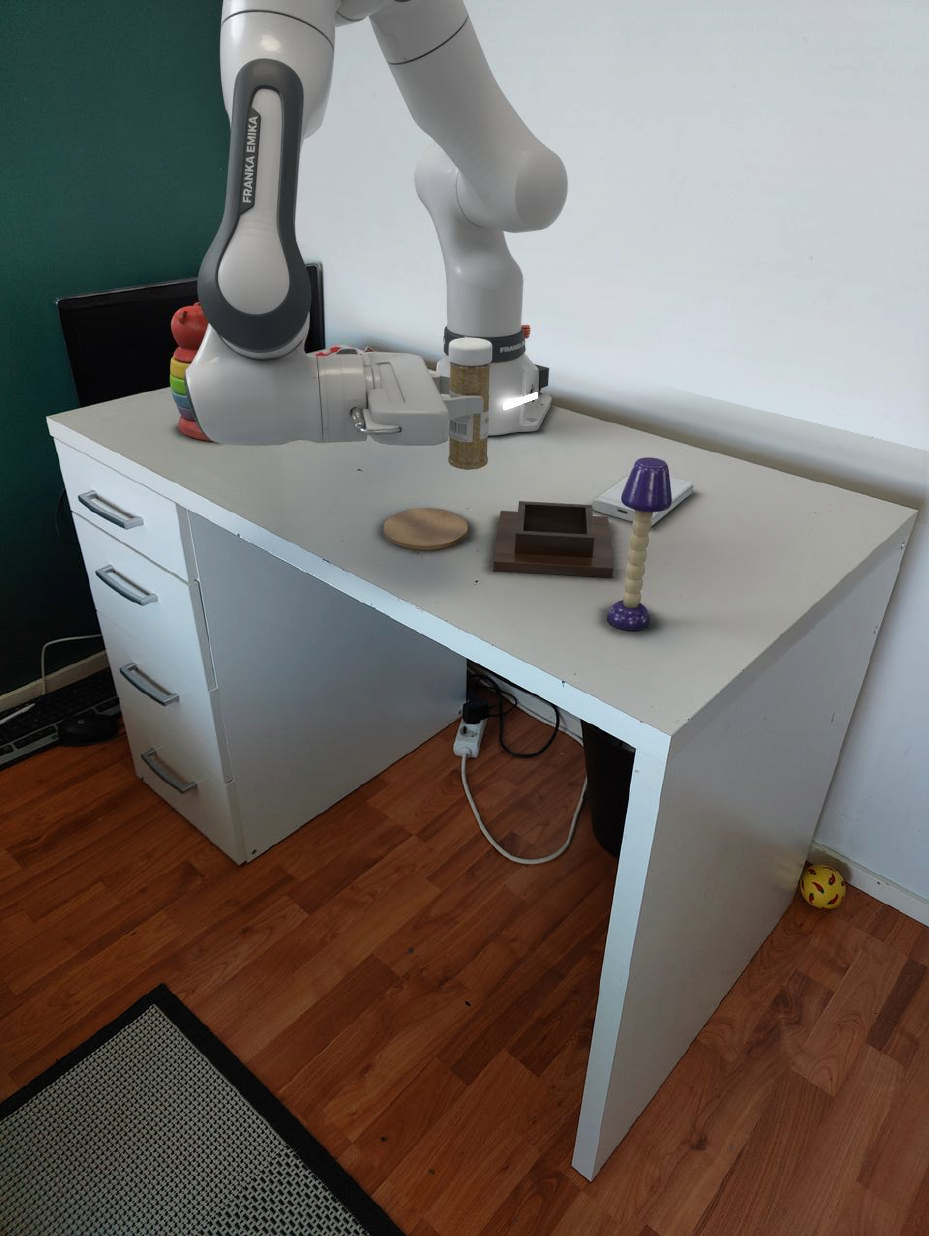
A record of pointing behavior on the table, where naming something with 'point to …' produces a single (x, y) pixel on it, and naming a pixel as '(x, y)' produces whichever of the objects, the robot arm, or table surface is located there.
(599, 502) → the hard drive
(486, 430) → the sprinkles bottle
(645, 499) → the toy lamp
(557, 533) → the holder
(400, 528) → the coaster
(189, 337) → the stacking bear
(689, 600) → the table surface
